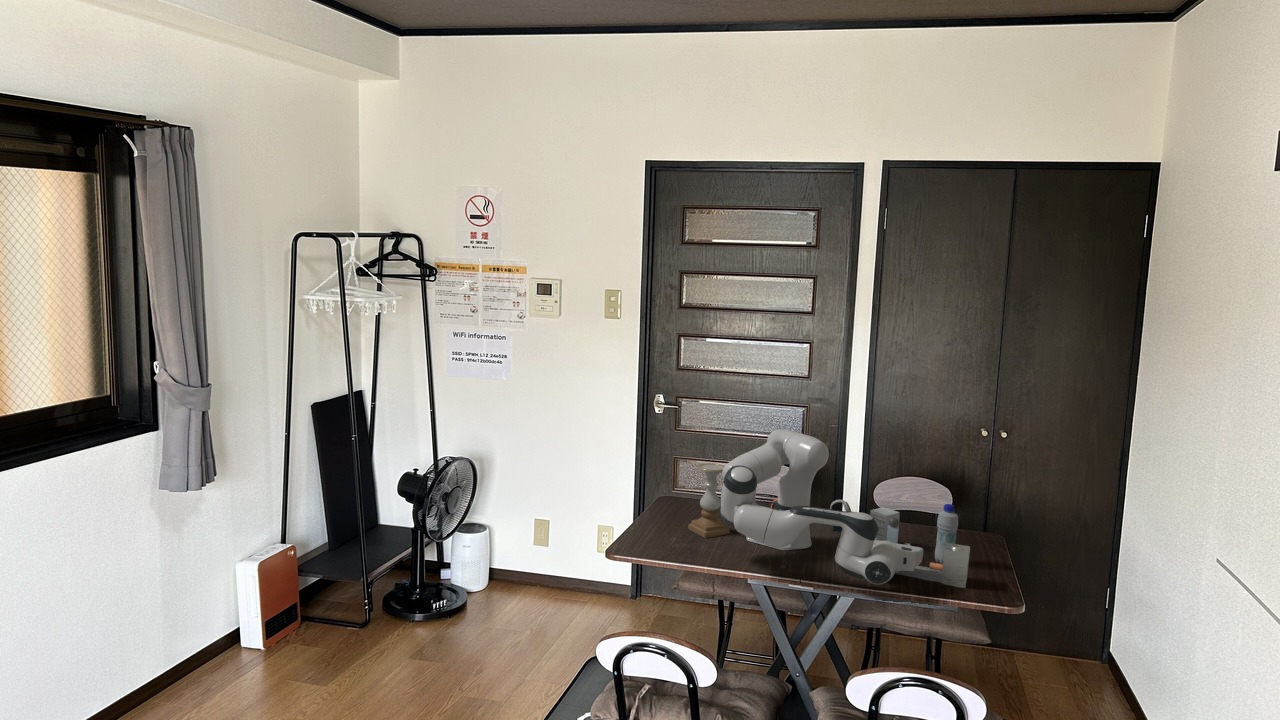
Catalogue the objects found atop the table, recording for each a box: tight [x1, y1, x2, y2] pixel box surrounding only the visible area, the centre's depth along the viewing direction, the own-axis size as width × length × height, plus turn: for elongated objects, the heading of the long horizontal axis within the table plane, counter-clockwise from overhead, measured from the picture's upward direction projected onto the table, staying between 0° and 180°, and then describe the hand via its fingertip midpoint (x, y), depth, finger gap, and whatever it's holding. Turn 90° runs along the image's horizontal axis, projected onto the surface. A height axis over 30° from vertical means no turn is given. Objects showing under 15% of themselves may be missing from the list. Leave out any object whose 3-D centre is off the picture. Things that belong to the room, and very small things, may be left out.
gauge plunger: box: [928, 562, 943, 571], centre depth 266 cm, size 7×2×2 cm, turn 65°
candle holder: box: [687, 462, 730, 539], centre depth 303 cm, size 11×11×24 cm
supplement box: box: [869, 506, 900, 544], centre depth 296 cm, size 7×7×13 cm
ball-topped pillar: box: [887, 517, 900, 573], centre depth 271 cm, size 8×6×17 cm
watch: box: [829, 499, 853, 533], centre depth 312 cm, size 6×8×11 cm
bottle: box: [934, 503, 959, 564], centre depth 282 cm, size 7×7×20 cm
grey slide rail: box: [894, 543, 971, 589], centre depth 270 cm, size 30×8×11 cm, turn 65°
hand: (892, 543), depth 272 cm, fingers open, 8 cm apart
